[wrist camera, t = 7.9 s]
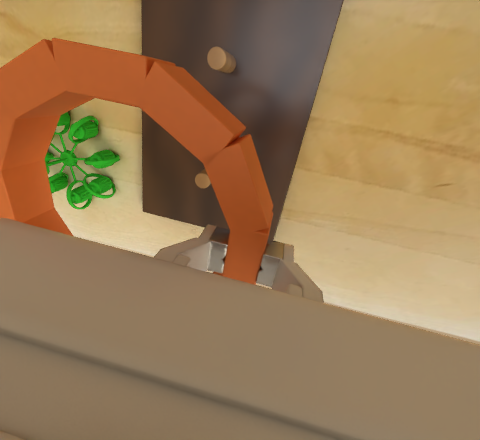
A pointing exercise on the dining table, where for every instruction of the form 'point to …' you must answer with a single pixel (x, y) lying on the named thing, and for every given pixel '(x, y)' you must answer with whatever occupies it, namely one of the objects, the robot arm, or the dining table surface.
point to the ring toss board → (235, 91)
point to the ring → (151, 102)
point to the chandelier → (70, 159)
